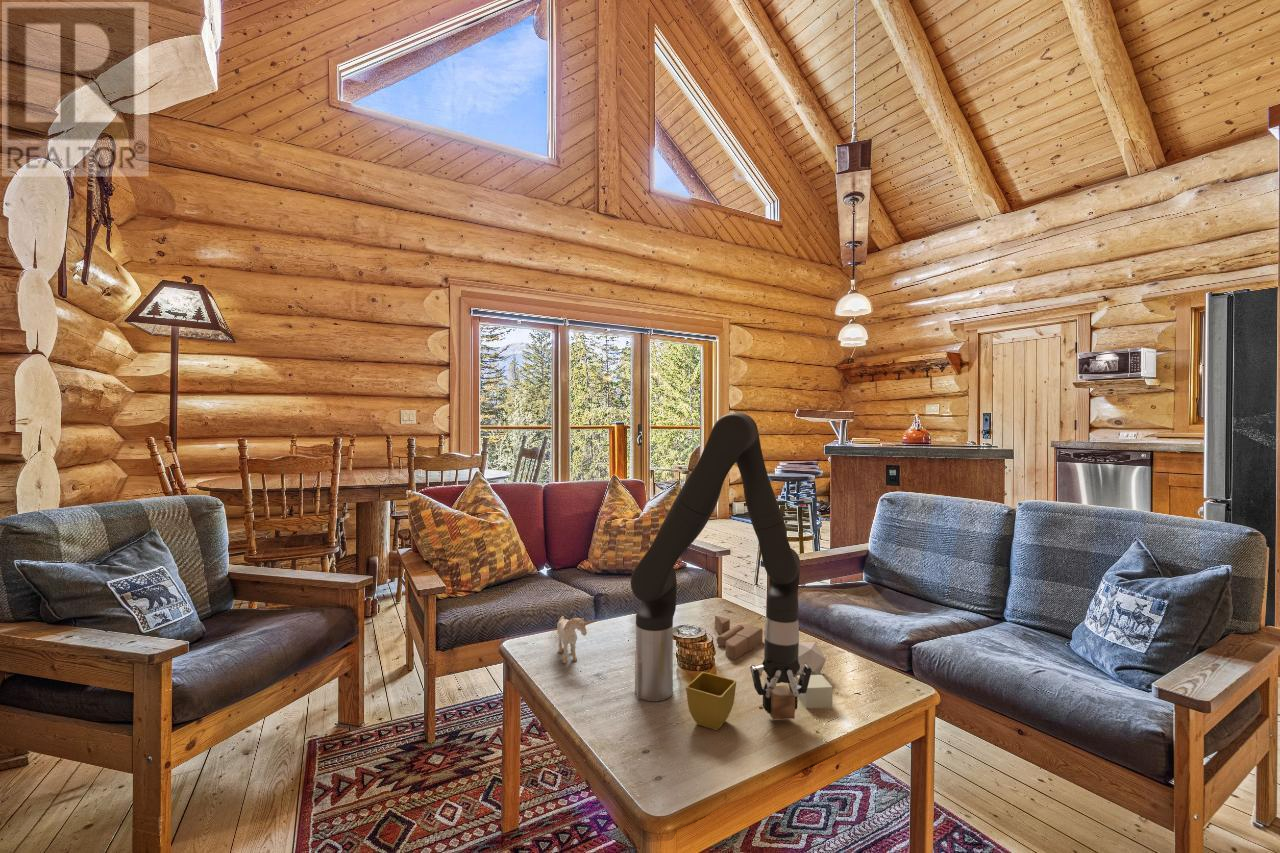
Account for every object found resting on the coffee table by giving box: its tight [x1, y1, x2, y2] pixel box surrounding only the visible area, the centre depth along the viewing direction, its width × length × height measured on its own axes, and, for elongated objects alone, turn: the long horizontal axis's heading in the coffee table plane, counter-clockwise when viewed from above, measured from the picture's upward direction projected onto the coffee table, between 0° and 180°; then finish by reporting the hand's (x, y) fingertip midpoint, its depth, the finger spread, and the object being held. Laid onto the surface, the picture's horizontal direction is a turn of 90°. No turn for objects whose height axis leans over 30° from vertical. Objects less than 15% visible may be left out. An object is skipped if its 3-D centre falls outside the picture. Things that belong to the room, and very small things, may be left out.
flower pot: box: [685, 671, 737, 731], centre depth 127 cm, size 9×9×9 cm
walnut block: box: [768, 685, 796, 720], centre depth 128 cm, size 5×5×5 cm
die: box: [796, 641, 827, 676], centre depth 151 cm, size 8×9×10 cm
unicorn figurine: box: [556, 615, 599, 664], centre depth 161 cm, size 7×20×13 cm, turn 36°
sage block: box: [796, 674, 833, 709], centre depth 137 cm, size 6×6×5 cm
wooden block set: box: [714, 615, 764, 661], centre depth 172 cm, size 17×6×18 cm
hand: (780, 710), depth 128 cm, fingers closed on walnut block, 5 cm apart
